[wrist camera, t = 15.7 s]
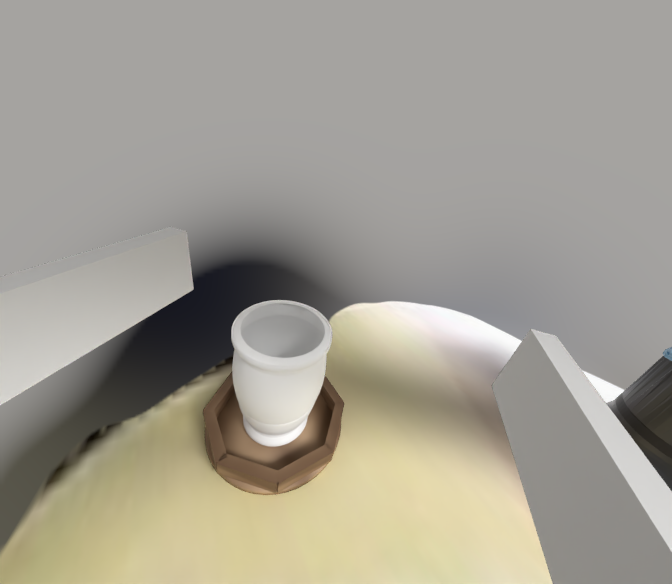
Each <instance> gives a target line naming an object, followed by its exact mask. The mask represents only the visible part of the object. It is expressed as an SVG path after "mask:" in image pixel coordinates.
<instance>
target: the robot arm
mask: <svg viewBox="0 0 672 584" xmlns="http://www.w3.org/2000/svg"><path fill="white" fill-rule="evenodd" d="M193 289H194V288H193V280H192V272H191V264H190V255H189V247H188V238H187V231H184V230H180V229H177V228H173V227H168V228H165V229H161V230H158V231H155V232H151V233H148V234H144V235H141V236H137V237H134V238H130V239H127V240H124V241H120V242H117V243H113V244H110V245H107V246H103V247H100V248H97V249H93V250H90V251H86V252H83V253H79V254H76V255H73V256H69V257H66V258H62V259H59V260H55V261H52V262H49V263H45V264H42V265H38V266H35V267H32V268H28V269H25V270H21V271H18V272H15V273H11V274H8V275H4V276H1V277H0V405H2V404H3V403H5V402H7V401H8V400H10V399H12V398H13V397H15V396H16V395H18V394H20V393H22V392H23V391H25V390H27V389H28V388H30V387H32V386H33V385H35V384H37V383H38V382H40V381H42V380H43V379H45V378H47V377H48V376H50V375H52V374H53V373H55V372H57V371H58V370H60V369H62V368H63V367H65V366H67V365H68V364H70V363H72V362H73V361H75V360H77V359H78V358H80V357H82V356H83V355H85V354H87V353H88V352H90V351H92V350H93V349H95V348H97V347H98V346H100V345H101V344H103V343H105V342H107V341H108V340H110V339H112V338H113V337H115V336H117V335H118V334H120V333H122V332H123V331H125V330H127V329H128V328H130V327H132V326H133V325H135V324H137V323H138V322H140V321H142V320H143V319H145V318H147V317H148V316H150V315H152V314H153V313H155V312H157V311H158V310H160V309H161V308H163V307H165V306H167V305H168V304H170V303H172V302H173V301H175V300H177V299H178V298H180V297H182V296H183V295H185V294H187V293H188V292H190V291H192V290H193ZM663 355H664V356H663V357H662V358H661V359H659V360H658V361H657V362H656V363H655V364H654V365H653V366H652V367H650V368H649V369H648V370H647V371H646V372H645V373H644V374H643V375H642V376H640V377H639V378H638V379H637V380H636V381H635V382H634V383H633V384H632V385H630V386H629V387H628V388H627V389H626V390H625V391H624V392H623V393H622V394H621V395H619V396H618V397H617V398H616V399H615V400H613V401H611V402H608V403H605V401H604V400H603V399H602V397H601V396H600V395H599V393H598V392H597V390H596V389H595V388H594V386H593V385H592V384H591V382H590V381H589V380H588V378H587V377H586V376H585V374H584V373H583V372H582V370H581V369H580V368H579V367H578V365H577V364H576V362H575V361H574V360H573V358H572V357H571V356H570V354H569V353H568V352H567V350H566V349H565V348H564V346H563V345H562V343H561V342H560V341H559V339H558V338H557V337H556V336H554V335H551V334H547V333H544V332H540V331H537V330H533V329H530V331H529V332H528V333H527V335H526V337H525V338H524V339H523V341H522V342H521V344H520V345H519V347H518V348H517V349H516V351H515V352H514V354H513V355H512V357H511V358H510V360H509V361H508V362H507V364H506V365H505V367H504V368H503V370H502V371H501V373H500V374H499V375H498V377H497V378H496V380H495V381H494V383H493V384H492V388H493V391H494V394H495V398H496V401H497V404H498V407H499V411H500V414H501V417H502V420H503V424H504V427H505V430H506V433H507V437H508V440H509V443H510V446H511V450H512V453H513V456H514V459H515V463H516V466H517V469H518V472H519V475H520V479H521V482H522V485H523V488H524V492H525V495H526V498H527V501H528V505H529V508H530V511H531V514H532V518H533V521H534V524H535V527H536V531H537V534H538V537H539V540H540V543H541V547H542V550H543V553H544V556H545V560H546V563H547V566H548V569H549V573H550V576H551V579H552V582H553V584H672V347H671V348H668V349H666V350H665V351H664V352H663Z"/></svg>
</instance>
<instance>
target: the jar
mask: <svg viewBox="0 0 672 584" xmlns="http://www.w3.org/2000/svg"><path fill="white" fill-rule="evenodd" d="M231 339H232V343H233V346H234V349H235V350H234V356H233V365H232V376H233V384H234V389H235V393H236V397H237V400H238V403H239V407H240V409H241V412H242V414H243V424H244V428H245V430H246V432H247V434H248V435H249V436H250V437H251V438H252V439H253V440H254V441H255V442H257V443H259V444H261V445H264V446H270V447H276V446H282V445H285V444H288V443H290V442H292V441H293V440H295V439H296V438H297V437H298V436H299V435H300V434H301V433H302V431H303V430H304V428H305V426H306V423H307V419H308V415H309V414H310V412H311V410H312V408H313V406H314V403H315V401H316V399H317V397H318V395H319V393H320V390H321V388H322V385H323V381H324V377H325V371H326V354H327V352H328V350H329V348H330V346H331V342H332V328H331V325H330V323H329V322H328V320H327V319H326V318H325V317H324V316H323V315H322V314H321V313H320V312H319V311H317V310H316V309H314V308H312V307H310V306H308V305H305V304H302V303H299V302H294V301H288V300H272V301H266V302H261V303H258V304H255V305H253V306H251V307H249V308H247V309H245V310H244V311H242V312H241V313H240V314H239V315H238V316H237V318H236V319H235V320H234V323H233V325H232V330H231Z"/></svg>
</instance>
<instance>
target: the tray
mask: <svg viewBox="0 0 672 584" xmlns="http://www.w3.org/2000/svg"><path fill="white" fill-rule="evenodd" d="M343 407H344V402H343V400H342V399H341V397H340V396H339V394H338V393H337V392H336V390H335V389H334V387H333V386H332V385H331V383H330V382H329V380H328V379H327V378H326V376H325V377H324V381H323V385H322V388H321V390H320V393H319V395H318V397H317V399H316V401H315V403H314V406H313V408H312V410H311V412H310V414H309V415H308V419H307V423H306V426H305V428H304V430H303V431H302V433H301V434H300V435H299V436H298V437H297V438H296V439H295V440H293V441H292V442H290V443H288V444H285V445H282V446H276V447H270V446H264V445H261V444H259V443H257V442H255V441H254V440H253V439H252V438H251V437H250V436H249V435H248V434H247V432H246V430H245V428H244V424H243V414H242V412H241V409H240V407H239V403H238V400H237V397H236V393H235V389H234V384H233V376H232V372H231V374H230V375H229V376H228V378H227V379H226V380H225V382H224V383H223V384H222V386H221V387H220V388H219V390H218V391H217V392H216V394H215V395H214V396H213V398H212V399H211V400H210V402H209V403H208V404H207V406H206V407H205V408H204V410H203V415H204V422H205V426H206V427H205V441H206V448H207V453H208V456H209V459H210V461H211V463H212V465H213V467H214V468H215V470H216V472H218V474H219V475H220V476H221V477H222V478H223V479H224V480H225V481H227V482H228V483H230V484H231V485H233V486H234V487H236V488H238V489H240V490H243V491H245V492H249V493H253V494H261V495H273V494H280V493H285V492H289V491H291V490H294V489H297V488H299V487H301V486H303V485H305V484H306V483H308V482H309V481H311V480H312V479H313V478H315V477H316V476H317V475H318V474H319V473H320V472H321V471H322V470H323V469H324V468H325V466H326V465H327V464H328V463H329V462H330V461H331V460H332V456H333V454H334V452H335V449H336V447H337V444H338V440H339V437H340V431H341V416H342V412H343Z"/></svg>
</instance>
